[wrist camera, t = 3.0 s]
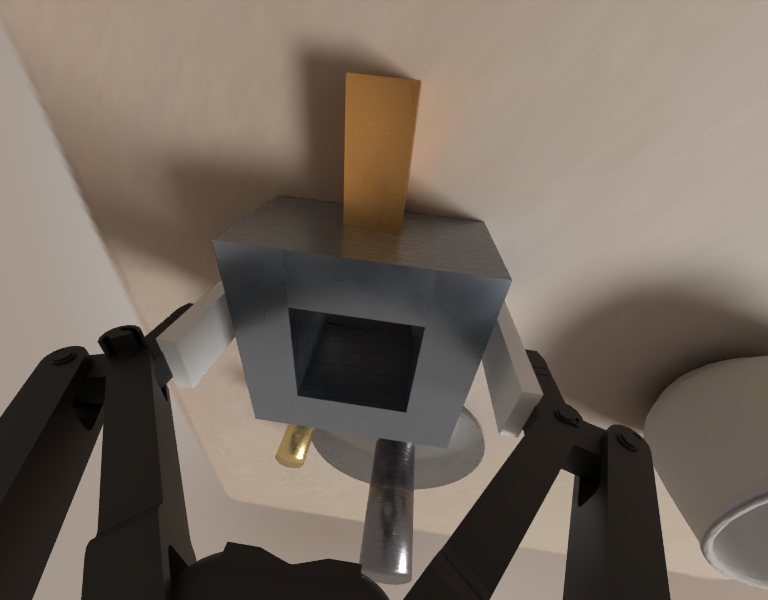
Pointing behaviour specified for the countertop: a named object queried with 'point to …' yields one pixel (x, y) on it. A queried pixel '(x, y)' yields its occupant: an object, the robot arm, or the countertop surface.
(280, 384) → the grey hollow block
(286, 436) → the dowel pin
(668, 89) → the countertop surface
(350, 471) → the rod on disc base
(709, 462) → the teacup
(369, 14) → the countertop surface
